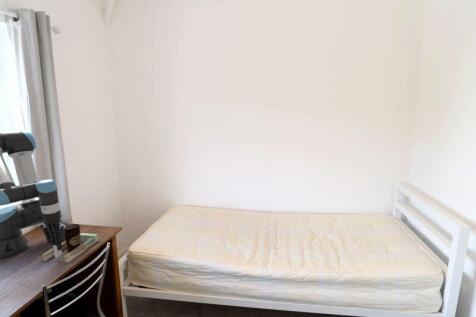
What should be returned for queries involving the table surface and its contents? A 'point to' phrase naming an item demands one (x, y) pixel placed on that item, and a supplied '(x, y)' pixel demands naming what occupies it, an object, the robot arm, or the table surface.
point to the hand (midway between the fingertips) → (58, 255)
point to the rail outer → (79, 250)
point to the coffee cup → (72, 236)
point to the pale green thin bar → (52, 252)
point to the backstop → (87, 237)
